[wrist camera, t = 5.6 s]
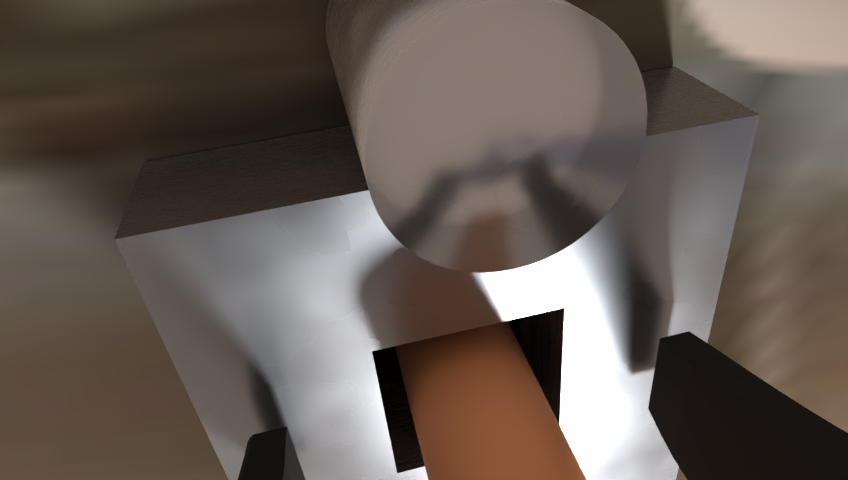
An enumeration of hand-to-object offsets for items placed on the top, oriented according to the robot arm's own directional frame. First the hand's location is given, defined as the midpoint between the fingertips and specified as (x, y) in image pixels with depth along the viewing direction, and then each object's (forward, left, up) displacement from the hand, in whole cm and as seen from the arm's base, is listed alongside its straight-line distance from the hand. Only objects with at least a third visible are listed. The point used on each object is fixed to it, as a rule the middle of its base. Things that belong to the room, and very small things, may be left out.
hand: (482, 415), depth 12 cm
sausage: (0, 0, -3) cm, 3 cm away
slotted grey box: (0, -2, -3) cm, 3 cm away
